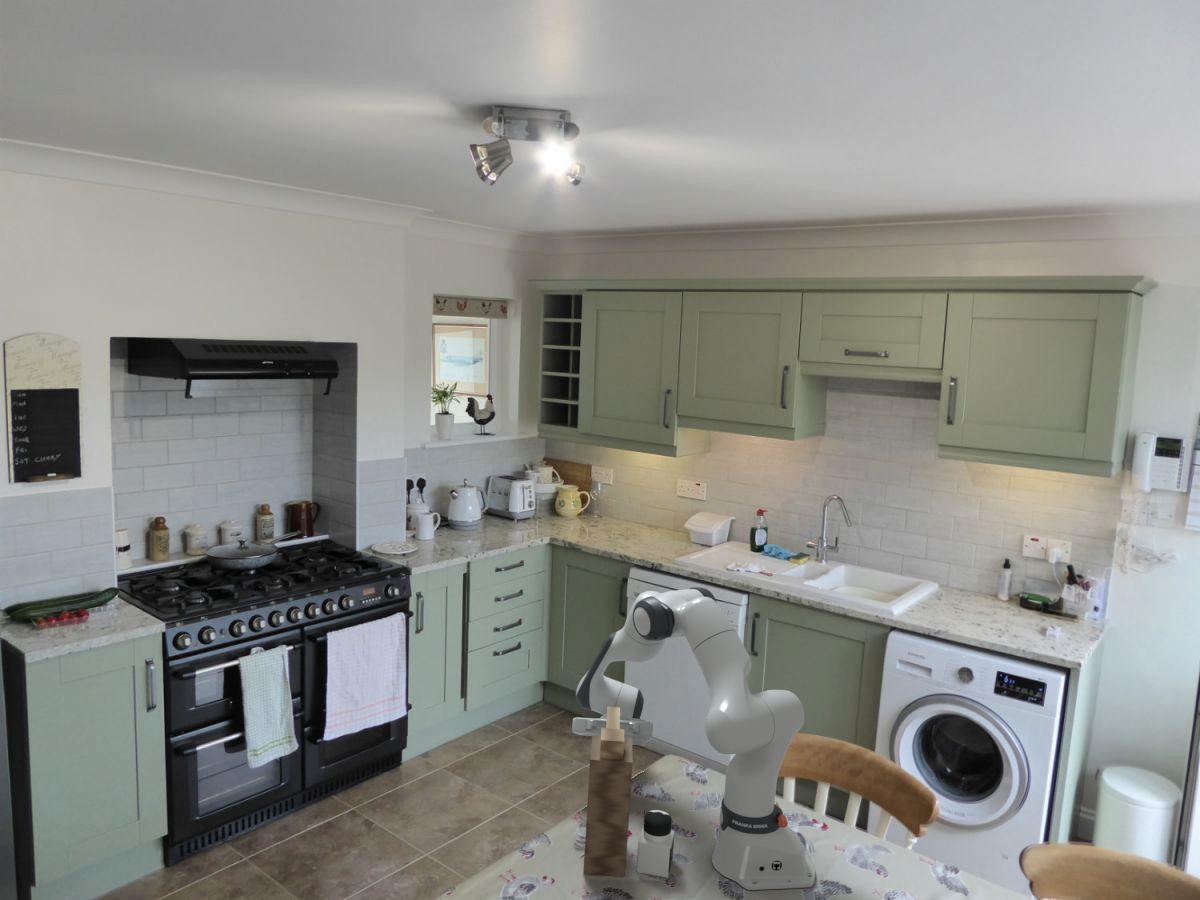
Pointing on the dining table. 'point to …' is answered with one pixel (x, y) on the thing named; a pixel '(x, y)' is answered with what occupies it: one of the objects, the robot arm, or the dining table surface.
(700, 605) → the robot arm
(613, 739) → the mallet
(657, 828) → the medicine bottle
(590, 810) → the stand
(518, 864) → the dining table surface
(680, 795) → the dining table surface
